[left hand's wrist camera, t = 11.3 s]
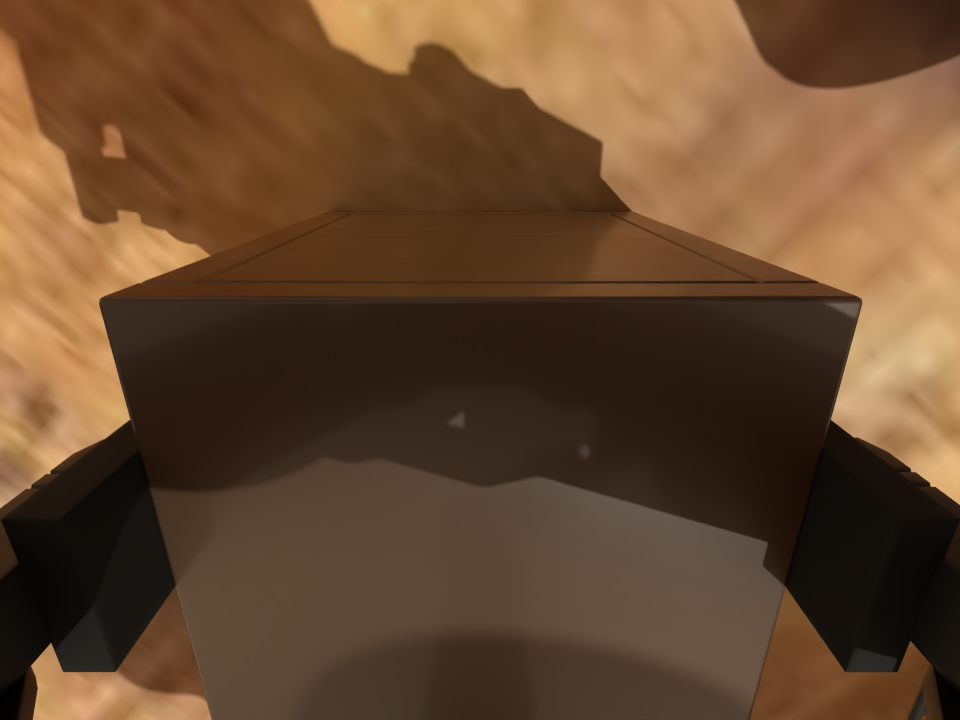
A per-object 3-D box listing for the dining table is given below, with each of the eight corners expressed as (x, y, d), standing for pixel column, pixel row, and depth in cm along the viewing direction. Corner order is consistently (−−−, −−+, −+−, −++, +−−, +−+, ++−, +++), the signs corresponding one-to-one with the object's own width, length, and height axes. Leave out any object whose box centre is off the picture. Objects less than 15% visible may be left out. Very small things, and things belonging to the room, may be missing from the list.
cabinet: (587, 660, 26) (665, 1032, 15) (373, 659, 26) (294, 1032, 15) (633, 211, 18) (867, 297, 7) (327, 211, 18) (94, 298, 7)
